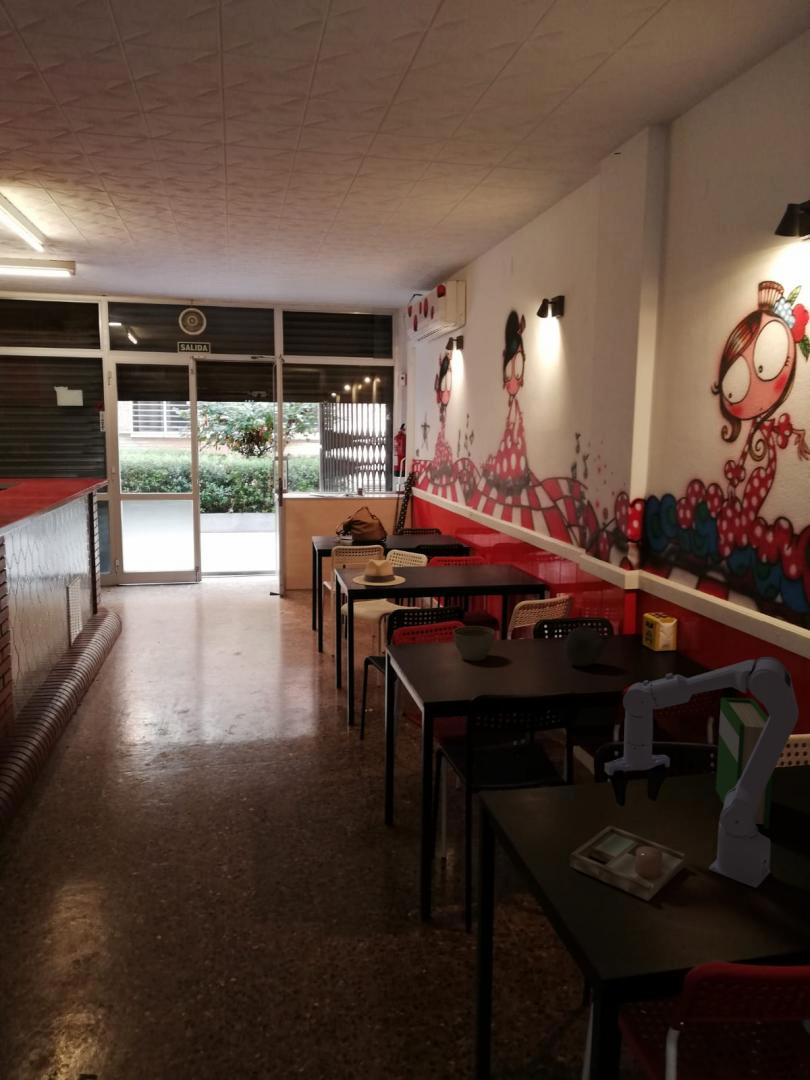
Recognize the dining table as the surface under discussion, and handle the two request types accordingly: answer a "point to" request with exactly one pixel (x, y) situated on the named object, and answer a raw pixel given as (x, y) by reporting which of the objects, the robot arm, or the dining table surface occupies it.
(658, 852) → the brown rounded lump
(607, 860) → the wooden frame
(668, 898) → the dining table surface
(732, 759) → the hardback book
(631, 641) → the dining table surface
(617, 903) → the dining table surface
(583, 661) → the cantaloupe
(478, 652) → the planter bowl
